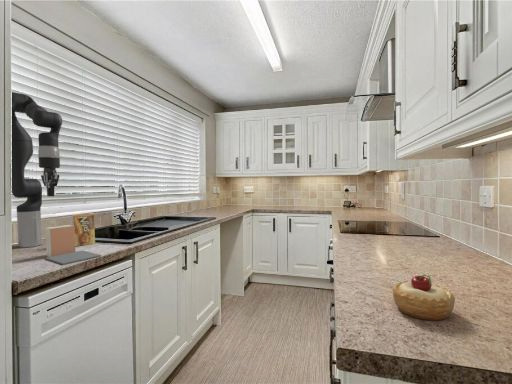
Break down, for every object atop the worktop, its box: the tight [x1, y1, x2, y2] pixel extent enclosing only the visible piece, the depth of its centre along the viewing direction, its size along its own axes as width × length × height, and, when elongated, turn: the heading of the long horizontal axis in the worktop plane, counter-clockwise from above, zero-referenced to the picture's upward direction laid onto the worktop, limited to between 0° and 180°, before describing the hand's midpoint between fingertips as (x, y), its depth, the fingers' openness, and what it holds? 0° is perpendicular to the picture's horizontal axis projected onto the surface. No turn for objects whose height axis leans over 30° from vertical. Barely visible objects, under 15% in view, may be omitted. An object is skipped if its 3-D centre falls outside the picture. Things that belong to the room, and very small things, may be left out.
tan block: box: [45, 224, 76, 257], centre depth 121 cm, size 5×9×12 cm, turn 147°
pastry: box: [392, 273, 456, 322], centre depth 63 cm, size 12×12×9 cm
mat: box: [44, 250, 102, 266], centre depth 115 cm, size 16×14×1 cm
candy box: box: [72, 212, 96, 247], centre depth 140 cm, size 9×4×15 cm, turn 129°
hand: (50, 196), depth 124 cm, fingers closed
